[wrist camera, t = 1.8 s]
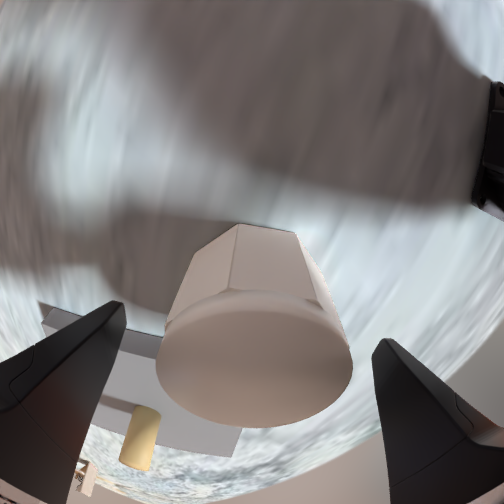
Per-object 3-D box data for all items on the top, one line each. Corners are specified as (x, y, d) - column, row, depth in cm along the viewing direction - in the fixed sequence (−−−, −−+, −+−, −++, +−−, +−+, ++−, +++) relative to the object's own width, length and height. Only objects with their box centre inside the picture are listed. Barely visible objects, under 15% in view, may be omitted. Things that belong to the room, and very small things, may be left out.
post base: (260, 354, 13) (261, 453, 8) (232, 442, 18) (228, 499, 13) (53, 307, 12) (4, 373, 7) (96, 411, 18) (78, 460, 13)
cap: (336, 238, 10) (386, 323, 6) (300, 339, 13) (314, 430, 8) (195, 213, 10) (149, 290, 5) (187, 324, 12) (162, 414, 8)
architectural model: (83, 461, 32) (75, 490, 25) (72, 450, 28) (61, 481, 22) (99, 468, 32) (90, 497, 25) (88, 457, 29) (78, 490, 22)
